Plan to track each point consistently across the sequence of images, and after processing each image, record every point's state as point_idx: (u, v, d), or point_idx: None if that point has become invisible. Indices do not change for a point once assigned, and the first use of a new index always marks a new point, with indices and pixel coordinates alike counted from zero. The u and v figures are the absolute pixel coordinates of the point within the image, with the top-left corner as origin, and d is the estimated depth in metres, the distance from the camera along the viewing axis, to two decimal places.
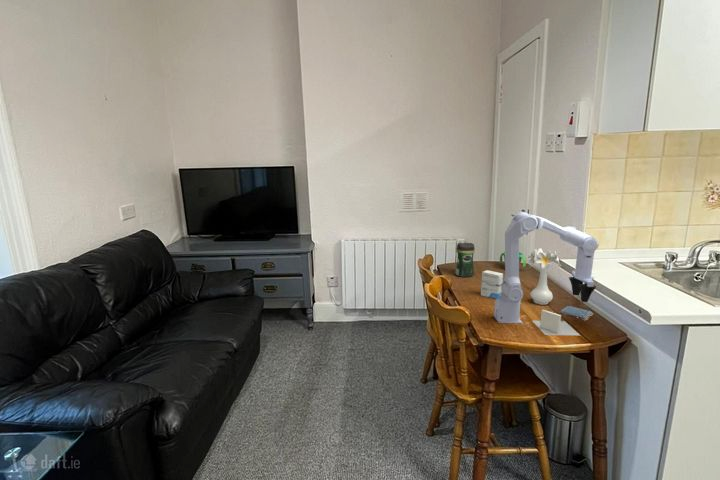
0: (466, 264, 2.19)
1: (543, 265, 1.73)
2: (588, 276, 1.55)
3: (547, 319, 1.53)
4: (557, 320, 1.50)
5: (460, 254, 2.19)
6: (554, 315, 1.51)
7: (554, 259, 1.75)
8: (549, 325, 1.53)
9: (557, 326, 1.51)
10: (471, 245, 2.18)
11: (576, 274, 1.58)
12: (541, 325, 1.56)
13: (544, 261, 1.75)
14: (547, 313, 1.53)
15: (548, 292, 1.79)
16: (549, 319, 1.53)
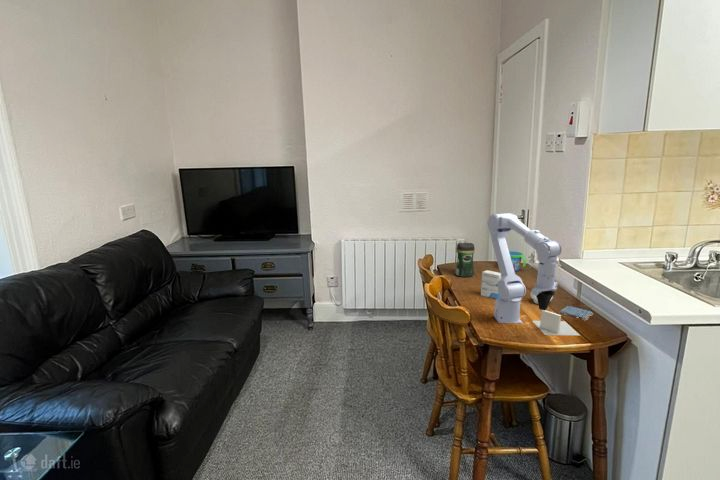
0: (466, 264, 2.19)
1: None
2: (543, 285, 1.43)
3: (547, 319, 1.53)
4: (557, 320, 1.50)
5: (460, 254, 2.19)
6: (554, 315, 1.51)
7: None
8: (549, 325, 1.53)
9: (557, 326, 1.51)
10: (471, 245, 2.18)
11: None
12: (541, 325, 1.56)
13: None
14: (547, 313, 1.53)
15: None
16: (549, 319, 1.53)
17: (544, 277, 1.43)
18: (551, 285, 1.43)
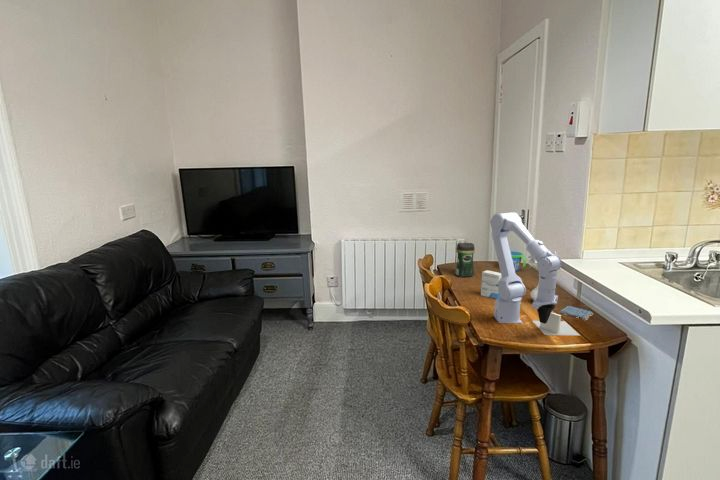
0: (466, 264, 2.19)
1: None
2: (544, 299, 1.45)
3: None
4: (557, 320, 1.50)
5: (460, 254, 2.19)
6: (554, 315, 1.51)
7: None
8: (549, 325, 1.53)
9: (557, 326, 1.51)
10: (471, 245, 2.18)
11: None
12: (541, 325, 1.56)
13: None
14: None
15: None
16: (549, 319, 1.53)
17: (544, 291, 1.45)
18: (551, 299, 1.45)
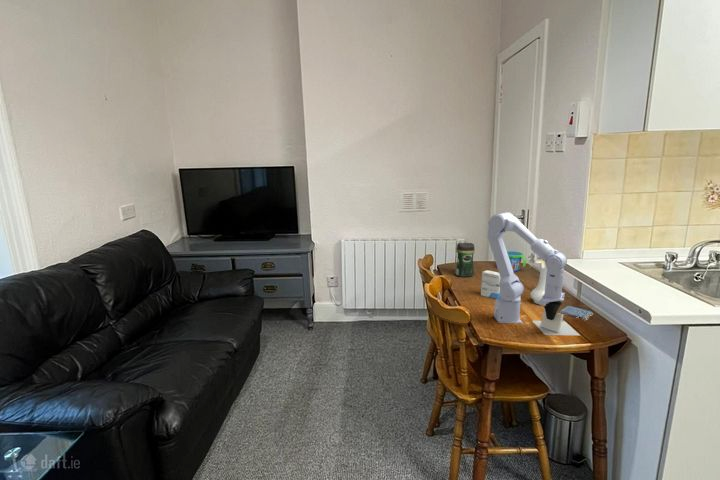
0: (466, 264, 2.19)
1: (543, 265, 1.73)
2: (551, 296, 1.48)
3: None
4: (559, 319, 1.51)
5: (460, 254, 2.19)
6: (557, 314, 1.52)
7: None
8: (550, 324, 1.53)
9: (558, 325, 1.51)
10: (471, 245, 2.18)
11: None
12: (541, 324, 1.56)
13: (544, 261, 1.75)
14: None
15: None
16: None
17: (552, 288, 1.48)
18: (558, 296, 1.48)
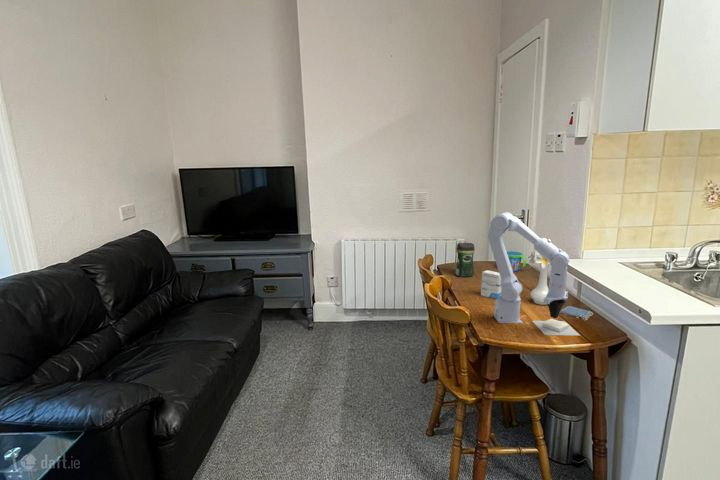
0: (466, 264, 2.19)
1: (543, 265, 1.73)
2: (555, 294, 1.50)
3: (554, 322, 1.57)
4: (564, 325, 1.55)
5: (460, 254, 2.19)
6: (563, 323, 1.57)
7: None
8: (553, 324, 1.55)
9: (562, 326, 1.53)
10: (471, 245, 2.18)
11: None
12: (544, 322, 1.57)
13: (544, 261, 1.75)
14: (556, 320, 1.59)
15: None
16: (556, 323, 1.57)
17: (556, 286, 1.50)
18: (562, 294, 1.50)
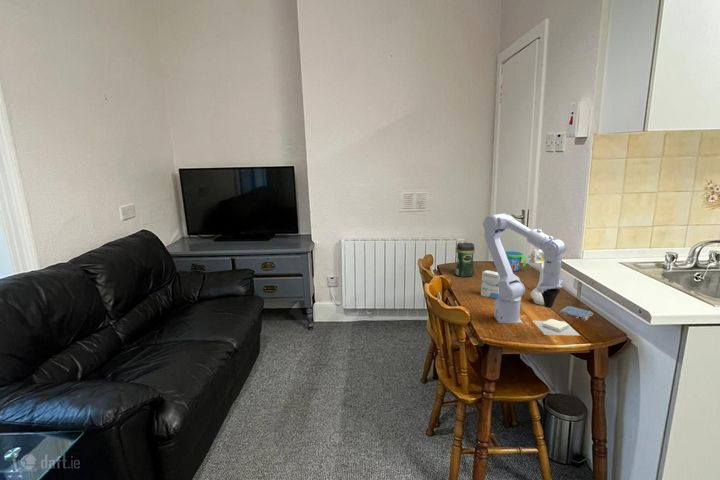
0: (466, 264, 2.19)
1: (543, 265, 1.73)
2: (549, 283, 1.46)
3: (554, 322, 1.57)
4: (564, 325, 1.55)
5: (460, 254, 2.19)
6: (563, 323, 1.57)
7: None
8: (553, 324, 1.55)
9: (562, 326, 1.53)
10: (471, 245, 2.18)
11: None
12: (544, 322, 1.57)
13: None
14: (556, 320, 1.59)
15: None
16: (556, 323, 1.57)
17: (549, 275, 1.45)
18: (556, 283, 1.45)
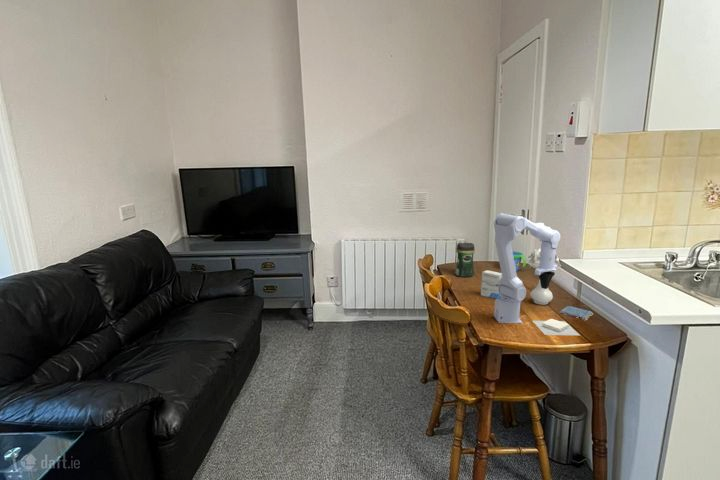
0: (466, 264, 2.19)
1: None
2: (545, 267, 1.67)
3: (554, 322, 1.57)
4: (564, 325, 1.55)
5: (460, 254, 2.19)
6: (563, 323, 1.57)
7: None
8: (553, 324, 1.55)
9: (562, 326, 1.53)
10: (471, 245, 2.18)
11: None
12: (544, 322, 1.57)
13: None
14: (556, 320, 1.59)
15: (548, 292, 1.79)
16: (556, 323, 1.57)
17: (546, 260, 1.66)
18: (552, 266, 1.66)
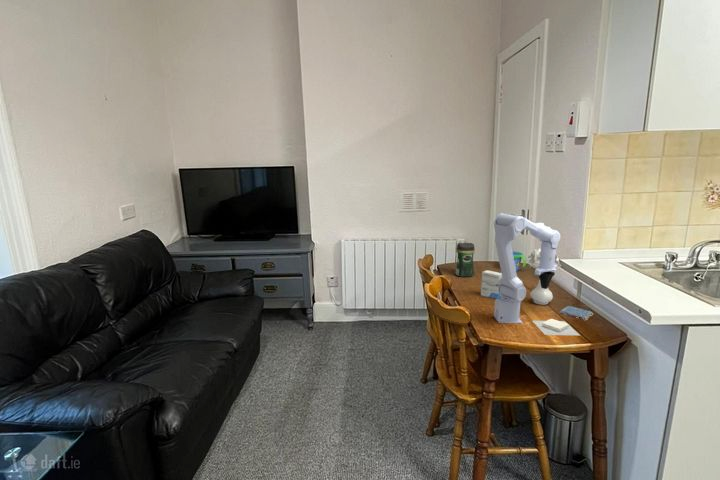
0: (466, 264, 2.19)
1: None
2: (545, 267, 1.67)
3: (554, 322, 1.57)
4: (564, 325, 1.55)
5: (460, 254, 2.19)
6: (563, 323, 1.57)
7: None
8: (553, 324, 1.55)
9: (562, 326, 1.53)
10: (471, 245, 2.18)
11: None
12: (544, 322, 1.57)
13: None
14: (556, 320, 1.59)
15: (548, 292, 1.79)
16: (556, 323, 1.57)
17: (546, 260, 1.66)
18: (552, 266, 1.66)
